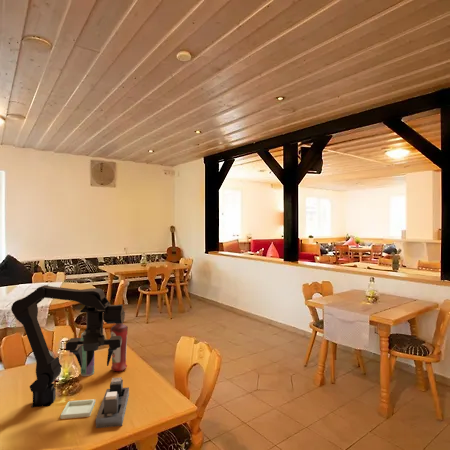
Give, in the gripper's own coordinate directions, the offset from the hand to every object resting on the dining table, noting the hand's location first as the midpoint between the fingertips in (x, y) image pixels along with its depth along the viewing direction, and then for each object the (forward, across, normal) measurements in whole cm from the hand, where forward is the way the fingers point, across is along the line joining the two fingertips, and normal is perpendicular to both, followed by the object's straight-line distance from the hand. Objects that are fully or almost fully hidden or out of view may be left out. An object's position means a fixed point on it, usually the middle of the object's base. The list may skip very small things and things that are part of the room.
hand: (94, 366), depth 125 cm
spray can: (+13, -8, +26) cm, 30 cm away
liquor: (+13, +5, +28) cm, 31 cm away
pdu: (+13, +8, -8) cm, 17 cm away
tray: (+13, -4, -6) cm, 15 cm away
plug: (+12, +8, -13) cm, 20 cm away
